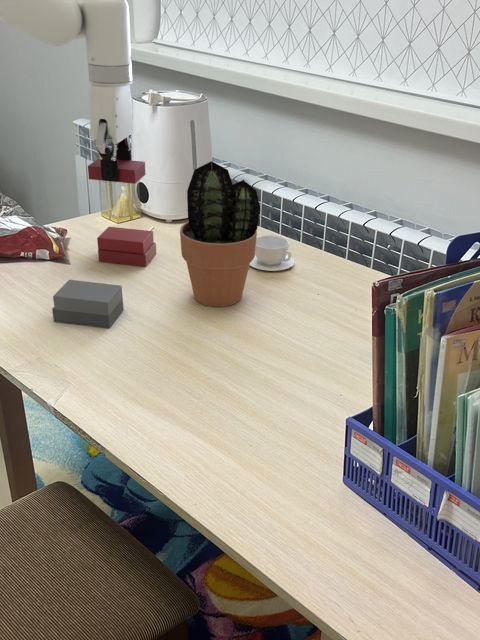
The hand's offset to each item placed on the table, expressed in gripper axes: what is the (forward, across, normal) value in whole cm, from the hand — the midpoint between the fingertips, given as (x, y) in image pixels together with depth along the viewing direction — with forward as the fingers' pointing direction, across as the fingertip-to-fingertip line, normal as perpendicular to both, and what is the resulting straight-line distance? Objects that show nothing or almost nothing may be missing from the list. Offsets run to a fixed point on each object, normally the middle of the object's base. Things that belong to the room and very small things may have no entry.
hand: (117, 174), depth 130 cm
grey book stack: (+18, +22, +2) cm, 29 cm away
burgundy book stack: (+18, -4, 0) cm, 19 cm away
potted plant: (+19, +9, +22) cm, 30 cm away
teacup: (+19, -9, +29) cm, 35 cm away
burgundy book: (0, 0, 0) cm, 0 cm away
